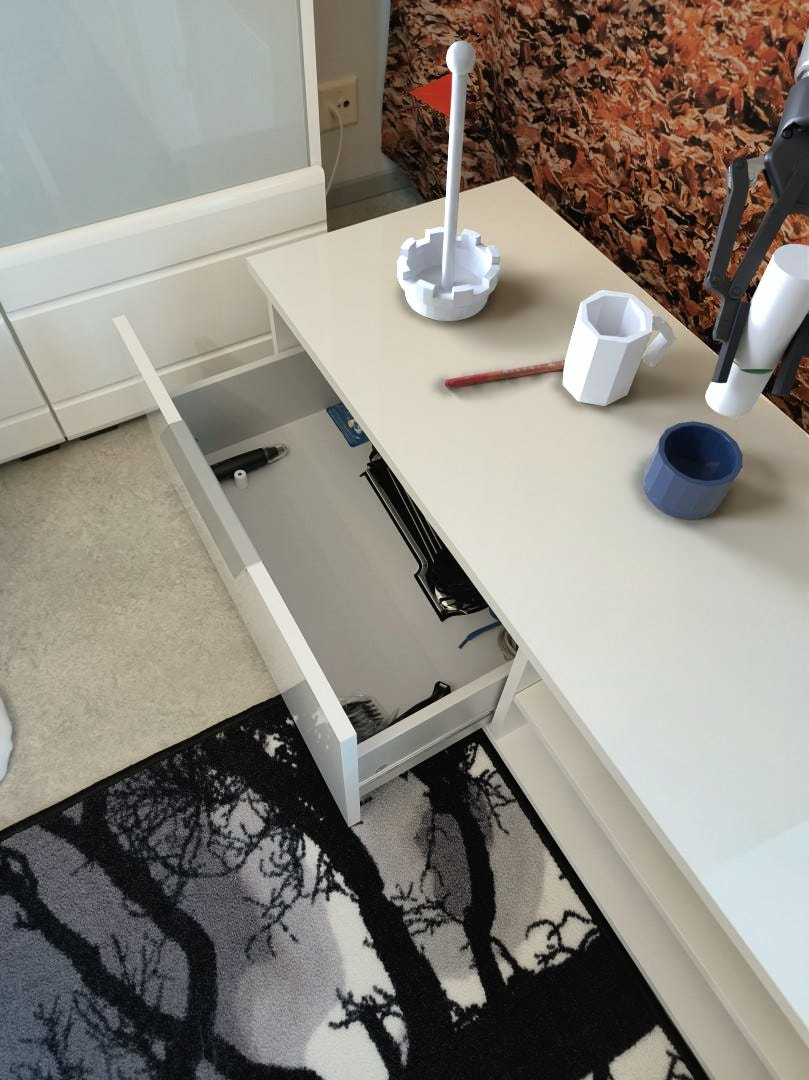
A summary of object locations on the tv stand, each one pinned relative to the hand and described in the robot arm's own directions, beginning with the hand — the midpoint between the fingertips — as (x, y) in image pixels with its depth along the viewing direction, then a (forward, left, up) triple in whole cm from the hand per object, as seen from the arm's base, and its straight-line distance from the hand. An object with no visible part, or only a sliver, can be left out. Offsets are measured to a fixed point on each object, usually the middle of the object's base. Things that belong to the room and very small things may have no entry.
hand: (749, 388), depth 62 cm
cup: (+1, -4, -19) cm, 19 cm away
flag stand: (+40, -15, -19) cm, 47 cm away
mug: (+16, -14, -19) cm, 28 cm away
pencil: (+25, -8, -19) cm, 32 cm away
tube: (+1, -4, -5) cm, 7 cm away
